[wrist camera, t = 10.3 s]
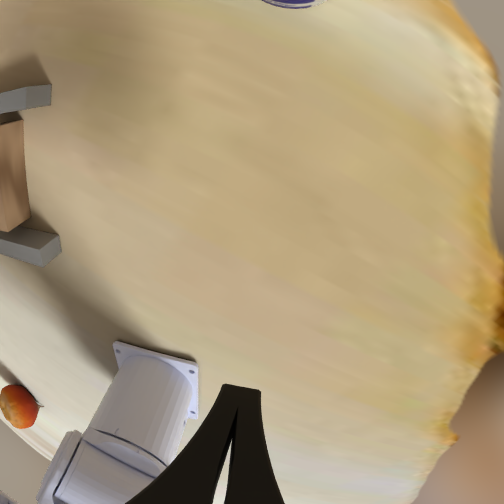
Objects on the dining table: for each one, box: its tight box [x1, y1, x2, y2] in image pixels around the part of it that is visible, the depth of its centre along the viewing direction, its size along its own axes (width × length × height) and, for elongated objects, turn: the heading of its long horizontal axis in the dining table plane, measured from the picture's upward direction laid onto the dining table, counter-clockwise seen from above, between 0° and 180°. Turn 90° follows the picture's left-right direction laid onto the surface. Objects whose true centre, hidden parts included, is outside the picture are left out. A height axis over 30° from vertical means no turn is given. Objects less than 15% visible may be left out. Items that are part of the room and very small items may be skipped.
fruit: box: [0, 385, 44, 429], centre depth 35 cm, size 8×8×8 cm
